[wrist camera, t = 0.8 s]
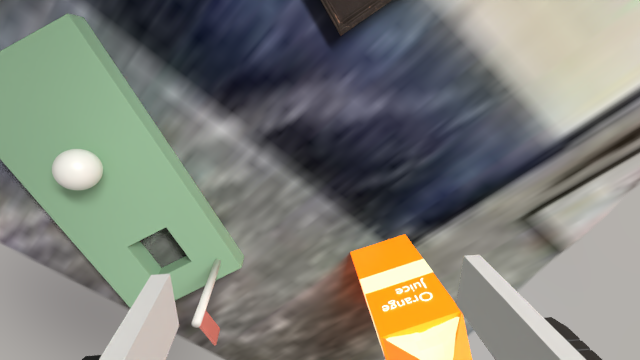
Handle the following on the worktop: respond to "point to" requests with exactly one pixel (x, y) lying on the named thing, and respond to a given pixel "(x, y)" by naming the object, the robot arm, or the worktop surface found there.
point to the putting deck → (106, 165)
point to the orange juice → (409, 304)
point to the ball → (77, 169)
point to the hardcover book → (351, 11)
